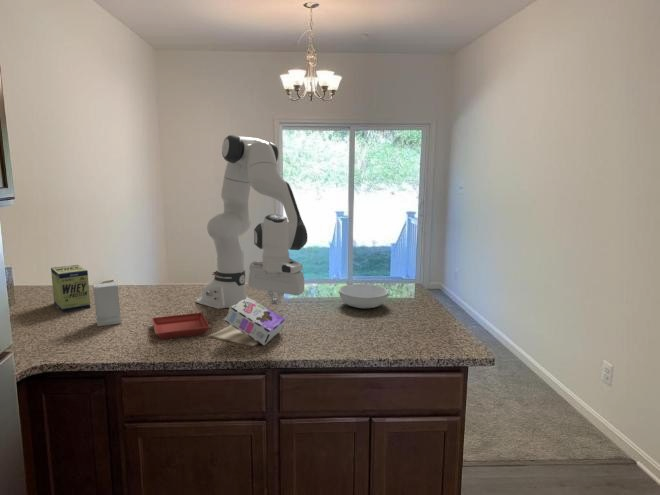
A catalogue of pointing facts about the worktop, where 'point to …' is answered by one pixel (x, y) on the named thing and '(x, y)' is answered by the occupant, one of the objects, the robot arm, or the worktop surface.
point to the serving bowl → (363, 295)
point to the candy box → (254, 320)
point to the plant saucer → (180, 325)
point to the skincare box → (107, 303)
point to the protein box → (70, 288)
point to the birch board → (234, 336)
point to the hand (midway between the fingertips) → (275, 304)
